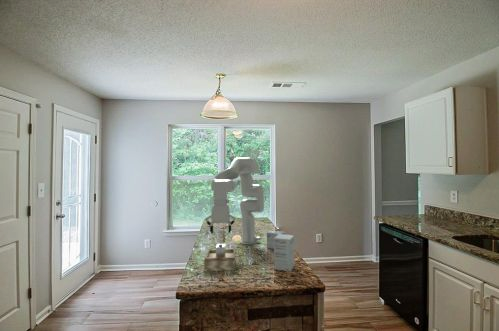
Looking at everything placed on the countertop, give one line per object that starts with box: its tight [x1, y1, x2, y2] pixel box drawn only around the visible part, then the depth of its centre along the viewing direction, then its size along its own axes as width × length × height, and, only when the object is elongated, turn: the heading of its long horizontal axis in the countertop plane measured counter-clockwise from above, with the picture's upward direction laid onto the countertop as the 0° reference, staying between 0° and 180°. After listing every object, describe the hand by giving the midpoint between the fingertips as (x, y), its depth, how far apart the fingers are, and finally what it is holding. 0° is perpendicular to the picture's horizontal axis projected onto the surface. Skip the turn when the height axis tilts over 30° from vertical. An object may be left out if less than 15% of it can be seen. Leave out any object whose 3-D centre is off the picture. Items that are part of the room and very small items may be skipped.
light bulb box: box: [266, 230, 285, 250], centre depth 186 cm, size 11×7×11 cm, turn 65°
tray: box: [204, 248, 236, 272], centre depth 154 cm, size 16×16×6 cm
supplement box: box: [273, 234, 296, 272], centre depth 150 cm, size 10×9×17 cm
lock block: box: [215, 243, 227, 258], centre depth 154 cm, size 5×7×7 cm
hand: (220, 232), depth 155 cm, fingers open, 9 cm apart
